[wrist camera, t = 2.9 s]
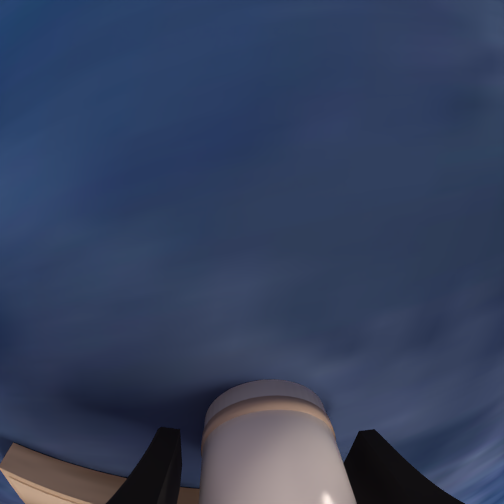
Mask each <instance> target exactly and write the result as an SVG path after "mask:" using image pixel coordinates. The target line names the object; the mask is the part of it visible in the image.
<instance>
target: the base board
mask: <svg viewBox="0 0 504 504" xmlns="http://www.w3.org/2000/svg"><path fill="white" fill-rule="evenodd" d="M0 470H1V471H2V473H3V474H4V476H5V477H6V479H7V480H8V481H9V483H10V484H11V486H12V487H13V488H14V490H15V491H16V492H17V494H18V495H19V496H20V498H21V499H22V500H23V502H24V503H25V504H106V503H107V502H108V500H109V499H110V498H111V497H112V496H113V495H114V494H115V493H116V492H117V490H118V489H119V488H120V487H121V485H122V484H123V483H124V482H125V481H126V479H127V478H123V477H119V476H114V475H110V474H106V473H102V472H98V471H94V470H91V469H87V468H83V467H80V466H77V465H73V464H70V463H67V462H64V461H61V460H58V459H55V458H52V457H49V456H46V455H43V454H41V453H38V452H35V451H33V450H30V449H28V448H25V447H23V446H20V445H18V444H16V443H13V444H12V445H11V447H10V449H9V450H8V452H7V454H6V455H5V457H4V459H3V460H2V462H1V464H0ZM199 491H200V489H193V488H184V487H180V491H179V495H178V500H177V504H199Z"/></svg>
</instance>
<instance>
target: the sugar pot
mask: <svg viewBox="0 0 504 504" xmlns="http://www.w3.org/2000/svg"><path fill="white" fill-rule="evenodd" d="M201 456H202V463H201V477H200V491H199V504H357V502H356V499H355V496H354V493H353V490H352V487H351V485H350V482H349V479H348V476H347V473H346V470H345V467H344V464H343V461H342V458H341V455H340V452H339V449H338V446H337V444H336V437H335V433H334V430H333V427H332V425H331V422H330V419H329V417H328V416H327V414H326V412H325V409H324V406H323V403H322V402H321V400H320V398H319V397H318V396H317V395H316V394H315V393H314V392H313V391H311V390H310V389H308V388H307V387H305V386H302V385H300V384H297V383H294V382H290V381H285V380H275V379H272V380H257V381H252V382H247V383H244V384H241V385H238V386H236V387H233V388H231V389H229V390H227V391H226V392H224V393H223V394H221V395H220V396H219V397H218V398H216V399H215V400H214V401H213V403H212V404H211V405H210V407H209V409H208V410H207V413H206V416H205V425H204V431H203V434H202V444H201Z"/></svg>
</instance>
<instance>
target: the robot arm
mask: <svg viewBox="0 0 504 504" xmlns="http://www.w3.org/2000/svg"><path fill="white" fill-rule="evenodd" d="M344 467H345V470H346V473H347V476H348V479H349V482H350V485H351V487H352V490H353V493H354V496H355V499H356V502H357V504H465V503H463V502H461V501H459V500H457V499H456V498H454V497H452V496H451V495H449V494H448V493H446V492H445V491H443V490H442V489H440V488H439V487H437V486H436V485H435V484H433V483H432V482H431V481H430V480H428V479H427V478H426V477H424V476H423V475H422V474H421V473H420V472H419V471H417V470H416V469H415V468H414V467H413V466H412V465H411V464H410V463H408V462H407V461H406V460H405V459H404V458H403V457H402V456H401V455H400V454H399V453H398V452H397V451H396V450H395V449H394V448H393V447H392V446H391V445H390V444H389V443H388V442H387V441H386V440H385V439H384V438H383V437H382V436H381V435H380V434H379V433H378V432H377V431H376V430H375V429H373V430H365V431H359V432H358V435H357V437H356V439H355V441H354V443H353V445H352V447H351V449H350V451H349V454H348V456H347V458H346V460H345V462H344ZM181 470H182V457H181V438H180V429H173V428H166V427H160V428H159V429H158V430H157V432H156V434H155V436H154V438H153V440H152V442H151V444H150V445H149V447H148V449H147V450H146V452H145V454H144V455H143V457H142V458H141V460H140V461H139V463H138V464H137V466H136V467H135V468H134V470H133V471H132V473H131V474H130V475H129V477H128V478H127V479H126V481H125V482H124V483H123V484H122V485H121V487H120V488H119V489H118V490H117V492H116V493H115V494H114V495H113V496H112V497H111V498H110V499H109V500H108V502H107V503H106V504H177V500H178V495H179V491H180V481H181Z"/></svg>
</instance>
